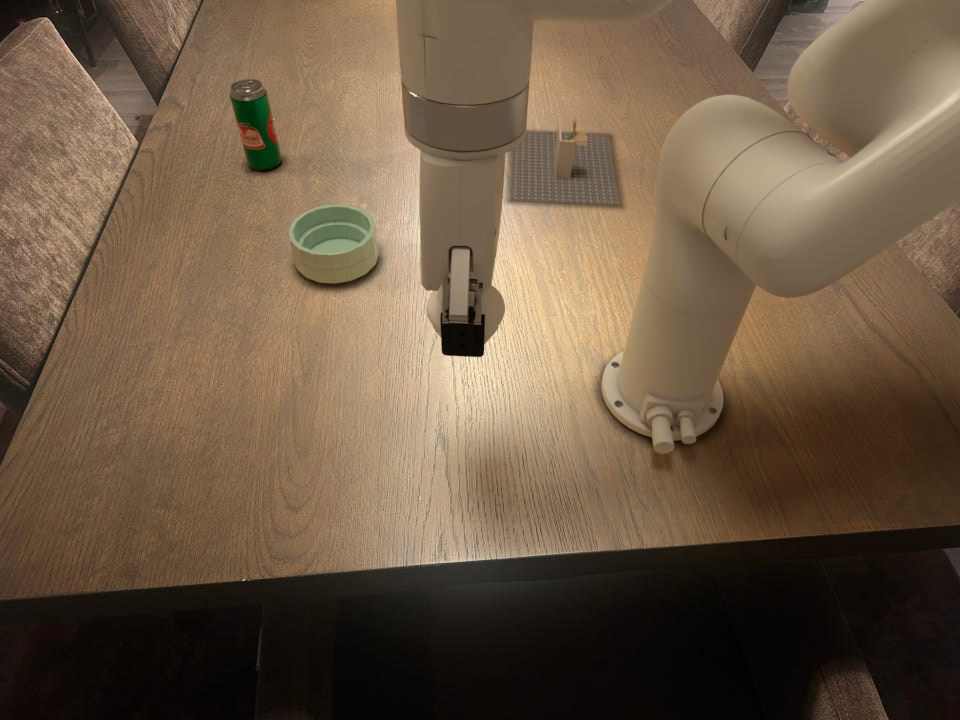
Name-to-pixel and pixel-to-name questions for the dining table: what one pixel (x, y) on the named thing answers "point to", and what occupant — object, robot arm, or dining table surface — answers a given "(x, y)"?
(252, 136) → the soda can
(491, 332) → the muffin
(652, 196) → the dining table surface
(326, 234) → the bowl
